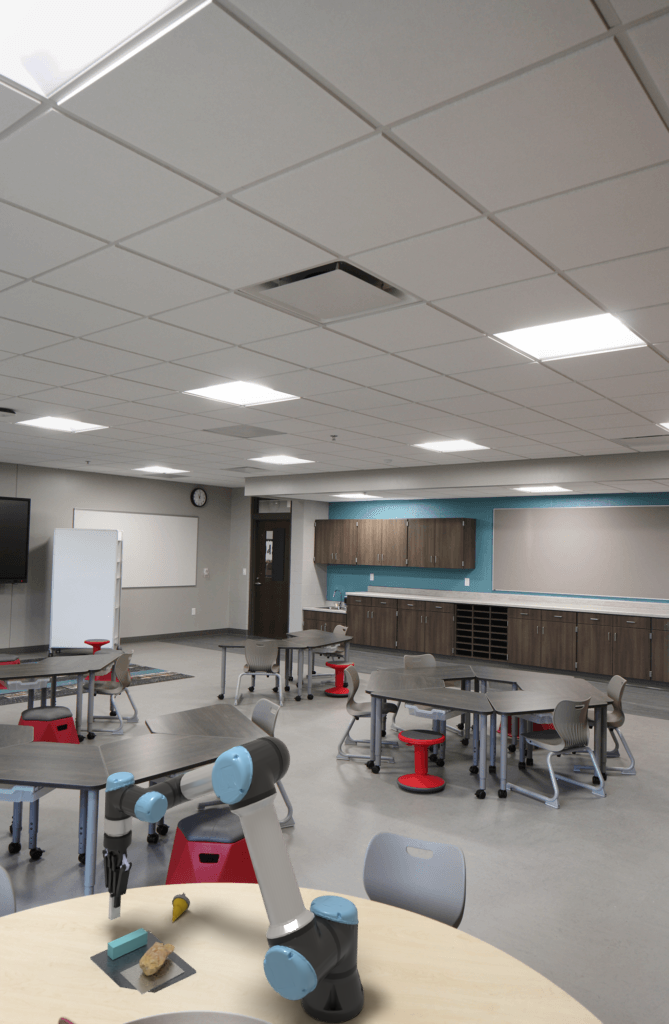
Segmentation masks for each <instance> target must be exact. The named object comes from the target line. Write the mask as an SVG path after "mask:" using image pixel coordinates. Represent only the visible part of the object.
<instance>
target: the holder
mask: <svg viewBox="0 0 669 1024" xmlns="http://www.w3.org/2000/svg"><path fill="white" fill-rule="evenodd" d="M146 932H148V936H147V944H146V945H144V946H142V947H139V948H137V949H135V950H133V951H131V952H129V953H127V954H124V955H122V956H120V957H118V958H116V959H114V960H112V959H111V958H110V957H109V956H108V955H107V951H108V948H107V949H104V950H103V951H100V952H99V953H96V954H93V955H92V956H90V960H91V961H92V962H93V963H94V964H95V965H96V966H97V967H98V968H99V970H101V971H102V972H104V973H105V975H106V976H107V977H109V978H110V980H112V981H113V982H114V984H116V985H117V986H118V987H119V988H123V989H129V990H135V991H137V992H139V993H140V994H141V995H144V994H147V993H153V994H155V993H157V992H159V991H162V990H164V989H166V988H168V987H170V986H172V985H174V984H176V983H178V982H180V981H183V980H184V979H187V978H188V977H191V976H193V975H195V974H196V973H197V970H196V969H195V968H194V967H192V965H190V964H189V963H188V962H187V961H185V960H184V959H183V958H181V957H180V956H179V955H178V954H177V953H176V952H174V951H173V952H172V953H171V954H170V955H168V957H167V958H166V960H165V962H164V964H163V965H162V966H161V968H160V969H159V970H158V971H157V973H154V974H152V975H147V976H146V974H145V973H144V972H143V970H142V969H141V968H140V966H139V963H140V962H139V961H140V959H141V958H142V957H143V955H144V954H145V953H146V951H148V950H149V949H150V948H151V947H152V946H153V945H154V943H155V942H159V943H163V945H166V944H165V943H164V942H163V941H161V940H160V939H159V938H158V937H157V936H155V934H154V933H152V932H151V931H149V930H147V931H146Z"/></svg>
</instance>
